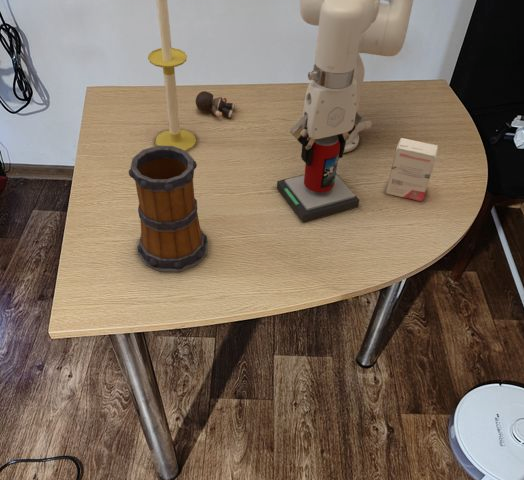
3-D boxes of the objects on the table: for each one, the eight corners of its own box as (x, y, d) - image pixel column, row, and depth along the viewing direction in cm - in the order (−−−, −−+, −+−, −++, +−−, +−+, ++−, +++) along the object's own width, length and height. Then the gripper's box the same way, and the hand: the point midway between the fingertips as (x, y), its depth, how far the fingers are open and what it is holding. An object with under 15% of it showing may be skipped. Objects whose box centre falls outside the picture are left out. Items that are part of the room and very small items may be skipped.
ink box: (425, 190, 128) (440, 144, 119) (422, 202, 125) (437, 156, 116) (388, 181, 129) (400, 135, 120) (384, 194, 127) (396, 147, 117)
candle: (162, 127, 140) (142, -46, 110) (200, 133, 139) (190, -41, 109) (150, 149, 134) (124, -28, 104) (189, 155, 133) (175, -22, 103)
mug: (129, 216, 119) (112, 130, 103) (195, 206, 122) (189, 121, 106) (143, 278, 108) (126, 193, 92) (215, 266, 110) (211, 181, 95)
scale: (329, 174, 130) (331, 165, 128) (358, 207, 123) (360, 197, 121) (276, 188, 126) (277, 178, 124) (302, 222, 119) (303, 213, 117)
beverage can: (331, 197, 120) (339, 148, 111) (301, 192, 121) (306, 143, 111) (335, 179, 124) (343, 130, 115) (305, 174, 125) (311, 125, 115)
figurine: (234, 110, 149) (197, 99, 148) (237, 93, 145) (200, 81, 144) (228, 127, 144) (191, 116, 143) (232, 110, 140) (193, 98, 139)
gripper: (301, 92, 98) (293, 177, 112) (383, 75, 103) (366, 159, 117) (283, 72, 102) (277, 157, 117) (363, 57, 107) (348, 140, 121)
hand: (322, 157), depth 117 cm, fingers closed on beverage can, 6 cm apart
